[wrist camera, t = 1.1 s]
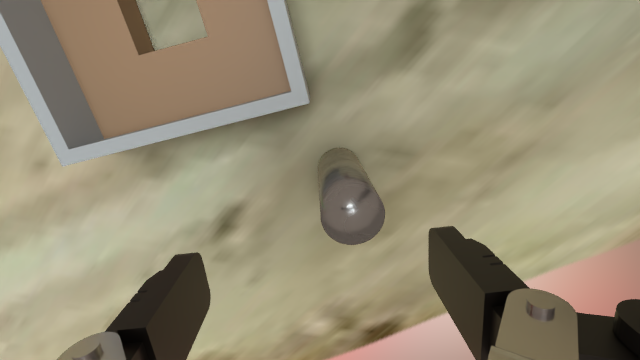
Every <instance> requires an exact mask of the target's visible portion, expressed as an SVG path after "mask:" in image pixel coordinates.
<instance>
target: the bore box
mask: <svg viewBox="0 0 640 360" xmlns="http://www.w3.org/2000/svg"><path fill="white" fill-rule="evenodd" d="M196 1H197V4H198V7H199V10H200V13H201V16H202V19H203V23H204V26H205V29H206V32H207V35H208V37H205V38H201V39H197V40H194V41H190V42H186V43H183V44H179V45H175V46H171V47H168V48H164V49H160V50H157V51H154V49H153V46H152V43H151V41H150V38H149V35H148V33H147V30H146V27H145V25H144V22H143V20H142V17H141V14H140V12H139V9H138V6H137V4H136V1H135V0H0V46H1V48H2V50H3V52H4V54H5V56H6V58H7V60H8V62H9V64H10V66H11V68H12V70H13V72H14V74H15V76H16V78H17V79H18V81H19V83H20V85H21V87H22V89H23V91H24V93H25V95H26V97H27V99H28V101H29V103H30V105H31V107H32V109H33V111H34V113H35V114H36V116H37V118H38V120H39V122H40V124H41V126H42V128H43V130H44V132H45V134H46V136H47V138H48V140H49V142H50V144H51V146H52V147H53V149H54V151H55V153H56V155H57V157H58V159H59V161H60V163H61V165H62V166H66V165H70V164H74V163H78V162H82V161H86V160H90V159H93V158H97V157H101V156H105V155H109V154H113V153H117V152H121V151H125V150H129V149H133V148H137V147H140V146H144V145H148V144H152V143H156V142H160V141H164V140H168V139H172V138H176V137H180V136H183V135H187V134H191V133H195V132H199V131H203V130H207V129H211V128H215V127H219V126H223V125H226V124H230V123H234V122H238V121H242V120H246V119H250V118H254V117H258V116H262V115H266V114H270V113H273V112H277V111H281V110H285V109H289V108H293V107H297V106H301V105H305V104H309V103H310V94H309V90H308V86H307V82H306V78H305V74H304V70H303V66H302V62H301V58H300V54H299V50H298V46H297V42H296V38H295V34H294V30H293V26H292V22H291V18H290V14H289V10H288V6H287V2H286V0H196Z"/></svg>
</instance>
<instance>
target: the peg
mask: <svg viewBox="0 0 640 360" xmlns="http://www.w3.org/2000/svg"><path fill="white" fill-rule="evenodd" d="M318 181H319V196H320V212H321V222H322V226H323V228H324V230H325V232H326V233H327V234H328V235H329V236H330V237H331V238H332V239H334V240H335V241H337V242H339V243H342V244H347V245H356V244H361V243H364V242H366V241H368V240H370V239H372V238H373V237H374V236H375V235H376V234H377V233H378V232H379V231H380V229H381V227H382V225H383V223H384V219H385V209H384V205H383V203H382V201H381V199H380V197H379V195H378V194H377V192H376V190H375V188H374V187H373V185H372V183H371V181H370V180H369V178H368V176H367V174H366V172H365V171H364V169H363V167H362V165H361V164H360V162H359V160H358V158H357V157H356V155H355V154H354V153H353V152H351V151H350V150H348V149H345V148H334V149H331V150H329V151H327V152H326V153H324V154H323V156H322V157H321V158H320V160H319V163H318Z"/></svg>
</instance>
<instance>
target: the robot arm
mask: <svg viewBox="0 0 640 360" xmlns="http://www.w3.org/2000/svg"><path fill="white" fill-rule="evenodd" d="M429 275H430V279H431V282H432V285H433V287H434V289H435V290H436V292H437V294H438V296H439V297H440V299H441V301H442V302H443V304H444V306H445V308H446V309H447V311H448V313H449V314H450V316H451V318H452V320H453V321H454V323H455V324H456V326H457V328H458V330H459V332H460V333H461V335H462V337H463V338H464V340H465V342H466V343H467V345H468V347H469V349H470V350H471V352H472V354H473V356H474V357H475V359H476V360H640V300H638V299H631V300H625V301H622V302H620V303H619V304H618V305H617V308H616V312H615V317H609V316H601V315H591V314H584V313H577V312H575V310H574V309H573V307H572V306H571V305H570V304H569V303H568V302H566V301H565V300H563V299H561V298H560V297H558V296H556V295H554V294H551V293H549V292H546V291H542V290H537V289H530V288H529V287H527V285H526V284H525V283H524V282H523V281H522V280H521V279H520V278H519V277H517V276H516V275H515V274H514V273H513V272H512V271H511V270H510V269H509V268H508V267H507V266H506V265H505V264H503V262H502V261H501V260H500V259H499V258H498V257H497V256H496V257H495V254H494V253H493V252H492V251H491V250H490V249H488V248H487V247H486V246H485V245H483V244H481V243H479V242H477V241H475V240H473V239H465V238H464V237H463V236H462V235H461V234H460V232H459V231H458V230H457V229H456V228H455V227H453V226H448V227H439V228H431V229H430V230H429ZM209 306H210V289H209V285H208V281H207V277H206V273H205V269H204V265H203V261H202V257H201V255H200V254H199V253H188V254H178V255H175V256H174V257H173V258H172V259H171V261H170V262H169V263H168V265H167V266H166V267H165V268H164V270H162V271H159V272H158V273H156V274H155V275H153V276H152V277H151V278H149V279H148V280H147V281H146V282H145V283H144V284H143V285H142V287H141V288H140V289H139V290H138V293H136V294H135V295H134V296H133V298H132V299H131V300H130V303H128V304H127V305H126V306H125V308H124V309H123V310H122V311H121V312H120V314H119V315H118V316H117V317H116V319H115V320H114V321H113V322H112V323H111V325H110V326H109V327H108V328H107V330H106V331H105V332H102V333H97V334H94V335H91V336H89V337H86V338H84V339H82V340H80V341H79V342H77V343H75V344H74V345H72V346H71V347H70V348H68V349H67V350H66V351H65V352H64V353H62V354H61V355H60V357H59V358H58V359H57V360H186V359H187V356H188V354H189V352H190V350H191V348H192V345H193V343H194V341H195V339H196V336H197V334H198V332H199V330H200V327H201V325H202V323H203V321H204V318H205V316H206V314H207V312H208V309H209Z"/></svg>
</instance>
